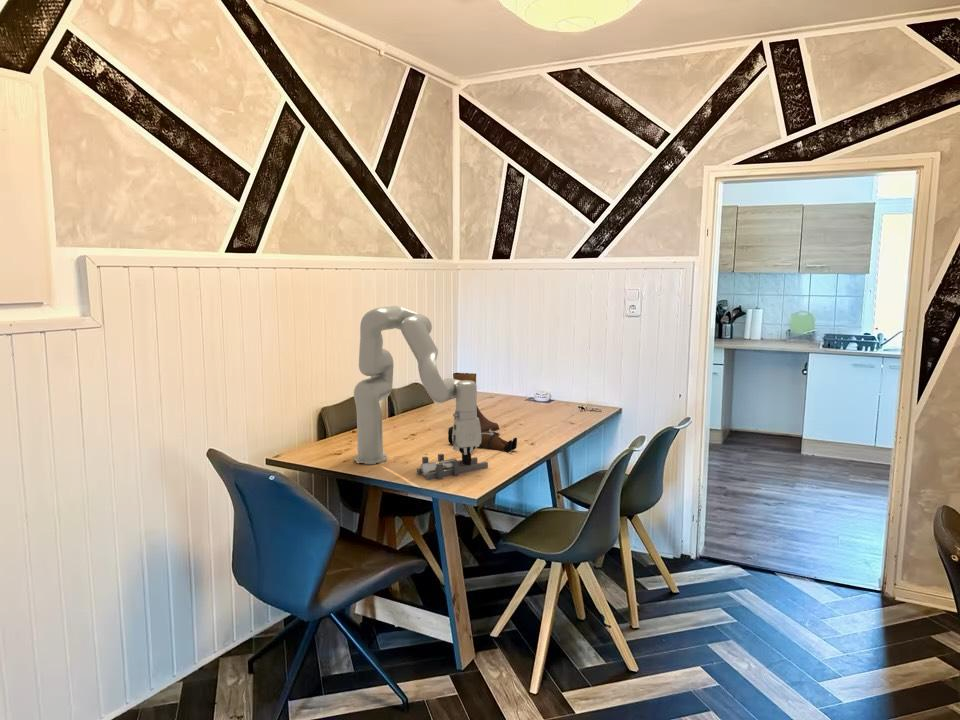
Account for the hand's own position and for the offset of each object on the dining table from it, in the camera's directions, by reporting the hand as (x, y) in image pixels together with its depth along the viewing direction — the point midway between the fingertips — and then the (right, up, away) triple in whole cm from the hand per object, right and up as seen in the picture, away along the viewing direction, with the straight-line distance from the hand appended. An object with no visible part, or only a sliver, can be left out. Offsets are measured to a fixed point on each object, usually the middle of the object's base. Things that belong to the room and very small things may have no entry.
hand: (466, 464), depth 230 cm
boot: (+3, +5, +59) cm, 59 cm away
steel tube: (-9, -2, -6) cm, 11 cm away
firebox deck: (-5, -3, -3) cm, 6 cm away
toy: (+6, +1, +31) cm, 31 cm away
